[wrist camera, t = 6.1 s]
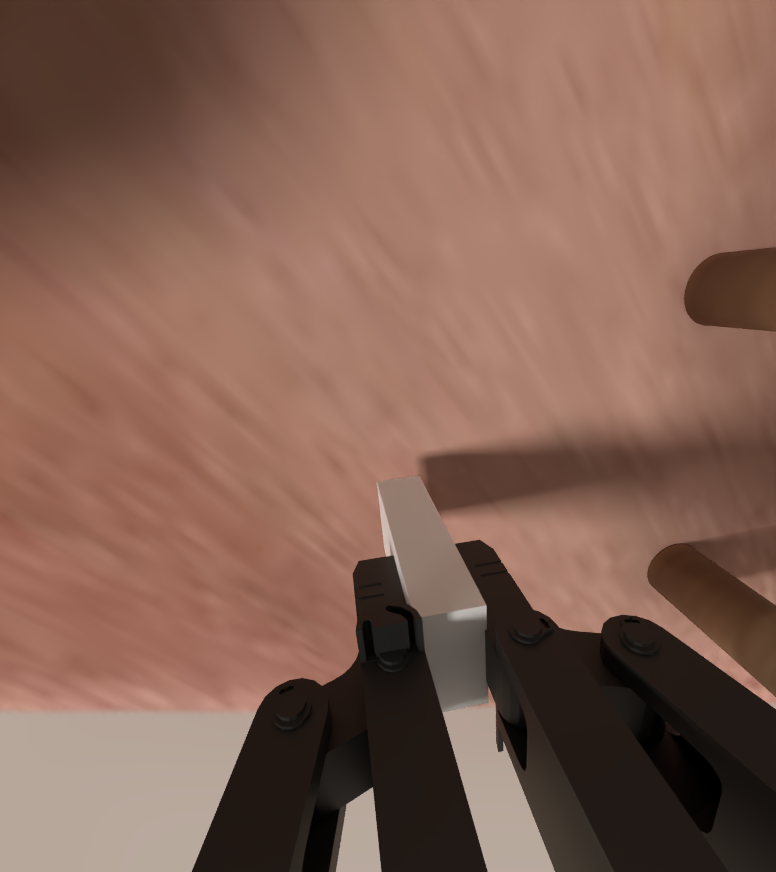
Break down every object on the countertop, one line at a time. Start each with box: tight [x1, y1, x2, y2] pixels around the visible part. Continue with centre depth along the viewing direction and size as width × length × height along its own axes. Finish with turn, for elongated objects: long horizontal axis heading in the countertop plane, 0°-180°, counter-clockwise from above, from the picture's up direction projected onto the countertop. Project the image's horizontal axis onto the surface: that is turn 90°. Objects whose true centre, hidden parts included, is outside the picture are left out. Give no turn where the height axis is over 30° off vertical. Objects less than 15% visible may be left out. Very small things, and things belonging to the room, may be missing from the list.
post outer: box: [648, 544, 776, 697], centre depth 16 cm, size 3×3×9 cm
